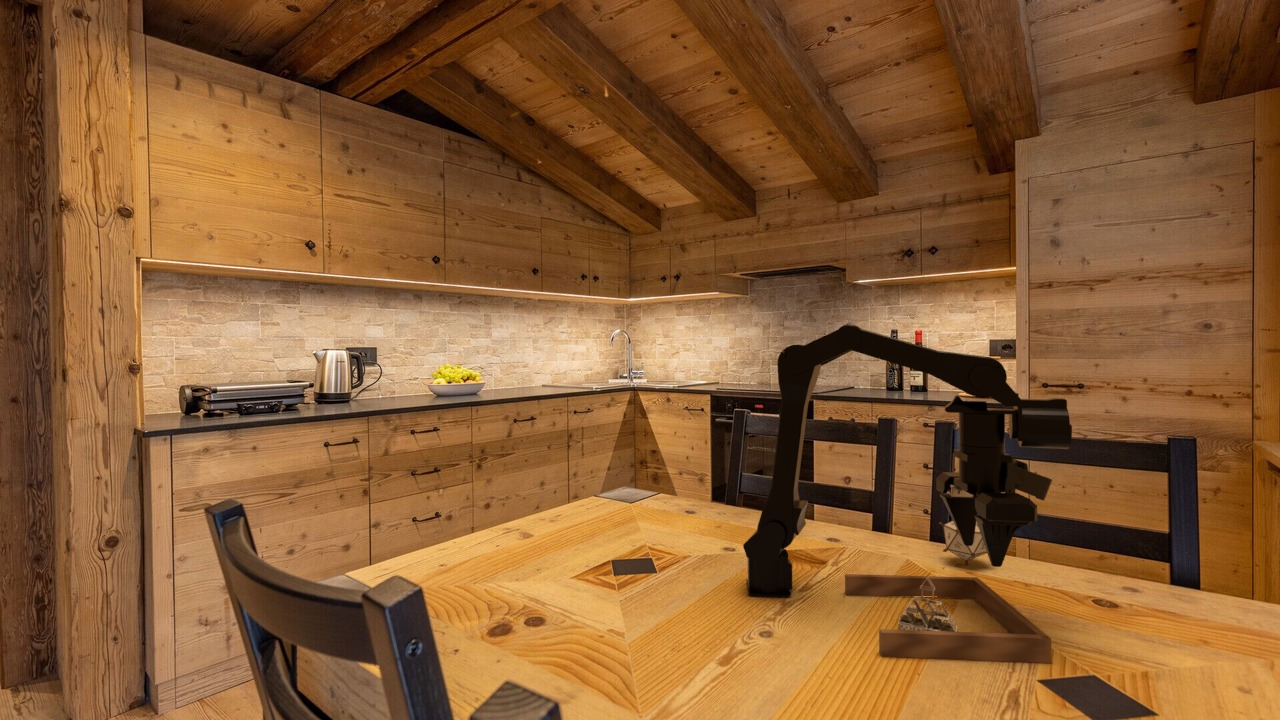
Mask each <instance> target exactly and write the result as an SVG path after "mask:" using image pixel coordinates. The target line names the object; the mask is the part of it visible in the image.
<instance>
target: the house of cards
mask: <svg viewBox="0 0 1280 720" xmlns="http://www.w3.org/2000/svg"><path fill="white" fill-rule="evenodd" d="M926 579H927V580H928V582H929V583H930V585H931V587H927V586H922V585H923V584H924V583H923V584H922V585H921V587H920V589H922V597H912V598H911V600H910V602H909V604H907V606H906V607H905V609H903V612H902V613H901V614H900V615H899V617H898V623H897V624H898V630H920V631H948V632H959V630H958V624H957V623H956V621H955V620H954V618H953V616H952V615H951V613H950V612H948V611H947V609H946V607H945V605H944V603H943V602H942V601H937V600H934V599H935V598H934V590H935V587H934V585H933V583H932V582H931V580H930V578H929V577H927V578H926ZM925 581H926V580H925ZM925 581H924V582H925ZM923 589H925V590H931V591H932V598H931V599H928V598H925V597H923ZM912 602H913V603H914V605H912V604H911V603H912ZM918 602H922V603H924V604H923V605H922V607H921V606H920V605H919V603H918ZM926 605H927V606H926ZM934 605H936V606H938V607H937V608H936V607H935V606H934ZM925 606H926V608H925V609H923V608H924V607H925ZM939 608H941V610H939ZM928 609H929V610H928ZM914 614H915V615H914ZM919 616H920V617H919ZM928 616H929V617H928Z"/></svg>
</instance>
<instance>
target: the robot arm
mask: <svg viewBox="0 0 1280 720" xmlns="http://www.w3.org/2000/svg"><path fill="white" fill-rule="evenodd" d="M850 352H855V353H859V354H862V355H865V356H869V357H872V358H875V359H878V360H881V361H885V362H887V363H891V364H896V365H898V366H901V367H905V368H908V369H911V370H914V371H918V372H922V373H925V374H927V375H930V376H932V377H935V378H936V379H938V380H939V381H942V382H944V383H946V384H948V385H950V386H952V387H954V388H956V389H958V390H959V391H963V392H964V393H966V394H968V395H970V396H973V397H975V398H980V399H986V398H987V399H989V398H991V399H992V400H995V402H998V403H999V404H1000V405H1003V406H1005V407H1013V408H998V407H997V408H995V407H994V408H993V407H991V408H990V407H988V404H987V401H983V400H963V399H962V398H961V397H960V395H958V394H957V395H954V397H953V398H952V400H951V401H950V402H949V403H948V404H946V405H945V406H944V411H945V412H946V413H948V414H949V413H950V414H951V413H952V414H953V413H954V414H956V413H957V414H958V448H957V449H955V448H954V449H953V458H957V459H958V471H957V472H956V471H954V472H952V471H951V472H949V471H946V472H943V471H942V472H941V473H940V474H939V475H938V476H937V477H936V480H935V481H936V482H935V485H936V488H935V490H936V491H938V492H939V493H940V494H939V496H940V498H941V499H942V501H943V503H944V505H945V507H946V509H947V512H948V514H949V516H950V517H951V521H953V522H954V524H955V526H956V528H957V530H958V533H959V535H960V537H961V539H962V541H963V543H964V545H965V546H972V545H973V540H974V535H975V527H976V521H977V524H978V527H979V530H980V533H981V536H982V539H983V542H984V545H985V548H986V551H987V553H986V554H987V557H988V560H989V562H990V564H991V566H992V567H995V568H1000V567H1002V565H1003V563H1004V561H1005V557H1006V556H1007V553H1008V549H1009V547H1010V545H1011V541H1012V539H1013V537H1014V535H1015V533H1016V532H1017V531H1018V530H1019V529H1021V528H1023V527H1025V526H1029V525H1031V523H1032V522H1034V523H1035V522H1037V521H1038V505H1037V504H1035V502H1033V500H1032V499H1031V498H1029V497H1026V496H1024V495H1022V494H1020V493H1017V492H1016V490H1017V491H1019V492H1022V493H1024V494H1028V495H1030V496H1032V497H1035V498H1036V499H1038V500H1041V501H1045V500H1046V497H1047V494H1048V492H1049V490H1050V488H1051V487H1050V486H1051V484H1052V482H1053V479H1052V478H1048V477H1046V476H1044V475H1041V474H1038V473H1035V472H1033V471H1029V465H1028V463H1026V462H1024V461H1021V460H1018V459H1015V458H1014V457H1013V456H1012V455H1011V454H1009V453H1006V445H1005V444H1006V440H1005V439H1006V427H1005V426H1006V425H1005V424H1006V422H1005V420H1006V415H1008V432H1009V434H1008V435H1009V438H1010V440H1017V442H1018V445H1019V448H1035V449H1036V448H1038V449H1055V450H1056V449H1058V450H1059V449H1062V450H1063V449H1064V450H1069V449H1070V447H1071V444H1072V436H1073V424H1071V422H1070V421H1071V420H1070V415H1069V410H1068V400H1067V399H1066V398H1064V397H1051V398H1046V399H1045V398H1044V399H1043V398H1041V399H1040V398H1039V399H1038V398H1020V396H1019V395H1020V393H1018V392H1016V391H1014V390H1013V388H1012V387H1011V386H1010V385H1009V383H1008V382H1007V380H1008V377H1007V371H1006V369H1005V368H1004V365H1003V364H1002V363H1001V362H1000V361H999V360H997V359H995V358H992V357H990V356H984V355H975V354H969V353H968V354H967V353H960V352H953V351H952V352H951V351H945V350H944V351H943V350H936V349H933V348H929V347H926V346H922V345H919V344H915V343H912V342H909V341H905V340H902V339H898V338H895V337H891V336H888V335H884V334H881V333H878V332H874V331H871V330H868V329H864V328H861V327H860V326H859V325H856V324H851V323H848V324H843V325H842V326H840V327H839V328H838V329H836V330H834V331H832V332H830V333H828V334H826V335H824V336H821V337H819V338H816V339H815V340H813V341H811V342H807V344H791V345H789V346H787V347H786V348H783V349H782V351H781V352H780V353H779V355H778V358H777V361H776V362H777V378H778V379H777V382H778V387H779V392H780V399H781V406H780V412H779V413H780V414H779V422H778V428H777V430H778V431H777V437H776V447H775V453H774V454H775V455H774V461H773V462H774V463H773V469H772V477H771V487H770V489H769V492H768V495H767V498H766V500H765V502H764V505H763V507H762V510H761V513H760V518H759V520H758V523H757V526H756V531H755V532H754V533H753V534H752V535H751V536H749V538H748V539H747V540H746V541H745V542H744V543H743V544H742V547H743V550H744V553H745V556H746V558H747V579H746V588H747V592H748V593H747V594H748V596H749V597H756V598H758V597H759V598H760V597H761V598H763V597H764V598H765V597H766V598H791V595H792V594H791V591H792V590H793V564H792V561H791V559H790V558H789V553H788V551H787V549H786V548H788V547H789V546H790V545H792V543H793V542H794V539H795V538H796V537H798V536H799V535H800V533H801V532H802V530H803V529H804V528H805V526H806V525H807V523H806V519H805V517H806V516H805V515H806V514H805V513H806V511H807V507H808V504H809V501H808V500H800V495H799V480H800V479H799V478H800V473H801V466H802V465H801V464H802V455H803V446H804V440H805V432H806V431H805V430H806V425H807V424H806V423H807V416H808V407H809V402H810V399H811V398H812V394H813V392H814V390H815V387H816V385H817V381H818V378H819V375H820V372H821V368H822V366H823V367H824V366H825V365H827V364H828V363H831V362H833V361H835V360H836V359H838V358H840V357H842V356H844V355H846V354H848V353H850Z"/></svg>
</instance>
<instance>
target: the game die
mask: <svg viewBox="0 0 1280 720" xmlns="http://www.w3.org/2000/svg"><path fill="white" fill-rule="evenodd" d="M938 524H939V526H942V528H943V536H944V541H945V542H944V544H945V547H946V548H943V551H942V552H943V553H946V552H950V553H952V554H954V555H955V556H956V557H959V558H960V559H962V560H964V565H966V566H968V565H969V561H971V560H974V559H977V558H978V557H981V556H983V555H986V554H987V551H986V548H985V545H984V542H983V539H982V536H981V533H980V530H979V527H978V524H977V521H976V527H975V535H974V540H973V545H972V546H965V545H964V543H963V541H962V539H961V537H960V535H959V533H958V530H957V528H956V526H955V524H954V522H953V520H951V521H948V522H946V523H943V522H938Z"/></svg>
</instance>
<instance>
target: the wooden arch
mask: <svg viewBox="0 0 1280 720" xmlns="http://www.w3.org/2000/svg"><path fill="white" fill-rule="evenodd" d="M927 577H929V578H930V580H931V582H932V583H933V585H934V587H935V590H934V596H937V597H950V598H949V599H967V598H968V599H969V600H970V599H971V600H972V599H973V600H974V601H975V602H977V603H978V604H979V605H980V606H981V607H982V608H983V609H984V610H985V611H986V612H988V614H989V615H990V616H991V617H993V618H994V619H995V620H996V621H997V623H999V624H1000V625H1001V626H1002V627H1004V629H1005V630H1006V631H1007V632H1009V633H1002V632H1001V633H998V632H973V631H972V632H970V631H967V632H966V631H958V632H948V631H920V630H899V629H890V628H889V629H886V628H884V629H883V628H878V630H879V631H878V637H879V638H878V640H879V641H878V642H879V643H878V646H879V648H878V651H879V652H878V653H879V655H880V656H881V657H887V658H888V657H889V658H891V657H892V658H913V659H936V660H937V659H941V660H959V661H960V660H965V661H966V660H967V661H987V662H988V661H989V662H1013V663H1015V662H1016V663H1035V664H1036V663H1037V664H1040V663H1041V664H1052V638H1051V637H1050V636H1049V635H1048V634H1046V633H1045V632H1044V631H1043V630H1041V629H1040V627H1038V626H1037V625H1035V624H1034V623H1033V622H1032V621H1031V620H1030V619H1028V618H1027V616H1025V615H1023V614H1022V613H1021V612H1020V611H1019V610H1018V609H1016V608H1015V607H1014V606H1013V605H1012V604H1010V603H1009V602H1008V601H1007V600H1005V599H1004V597H1002V596H1000V595H999V594H998V593H997V592H996V591H994V589H992V588H991V587H990V586H988V585H987V584H986V583H985V582H984V581H982V579H980V578H979V577H973V576H972V577H969V576H939V575H938V576H937V575H936V576H933V575H932V576H931V575H898V574H897V575H892V574H891V575H890V574H861V573H860V574H853V573H845V574H844V593H845V595H846V596H856V597H857V596H861V597H863V596H864V597H887V596H922V589H920V587H921V585H922V584H923V583H924V584H923V585H922V586H927V587H931V585H930V583H929V582H928V580H927V579H926V578H927ZM925 580H926V581H925ZM924 581H925V582H924ZM923 596H932V591H931V590H925V589H923ZM951 597H952V598H951Z"/></svg>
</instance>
